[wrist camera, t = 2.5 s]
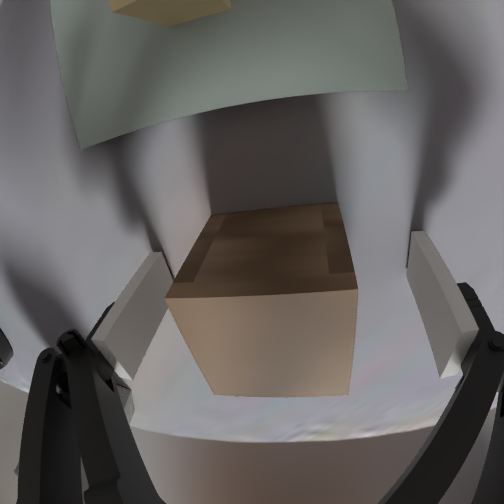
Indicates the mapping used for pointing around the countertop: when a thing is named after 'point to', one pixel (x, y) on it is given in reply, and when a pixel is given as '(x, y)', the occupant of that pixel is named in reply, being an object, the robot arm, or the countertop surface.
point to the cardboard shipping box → (270, 302)
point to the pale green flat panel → (215, 56)
